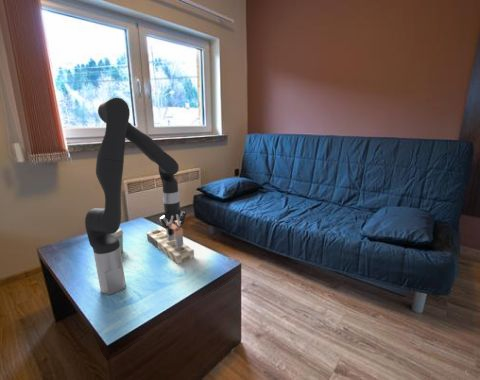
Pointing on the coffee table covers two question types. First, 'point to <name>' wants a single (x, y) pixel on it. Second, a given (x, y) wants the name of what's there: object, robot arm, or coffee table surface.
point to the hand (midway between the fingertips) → (174, 233)
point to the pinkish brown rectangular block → (176, 235)
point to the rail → (170, 246)
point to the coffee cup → (119, 237)
